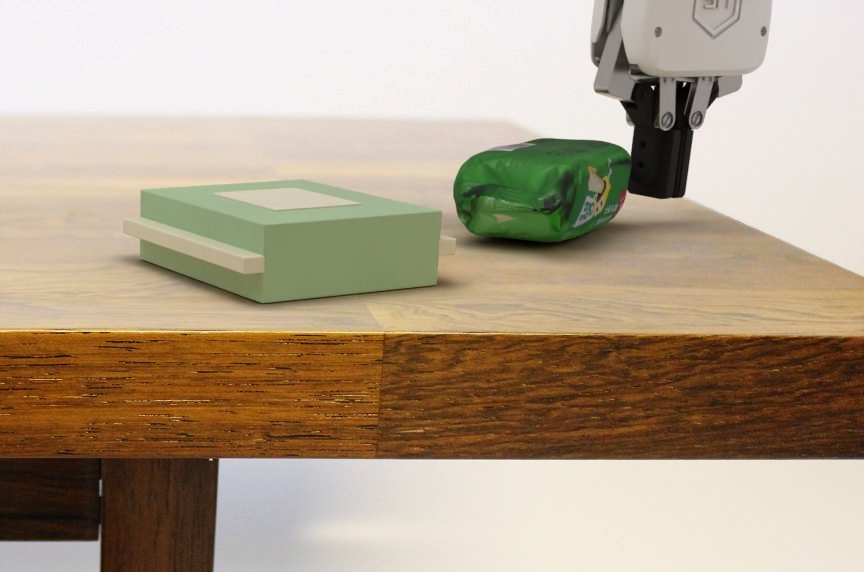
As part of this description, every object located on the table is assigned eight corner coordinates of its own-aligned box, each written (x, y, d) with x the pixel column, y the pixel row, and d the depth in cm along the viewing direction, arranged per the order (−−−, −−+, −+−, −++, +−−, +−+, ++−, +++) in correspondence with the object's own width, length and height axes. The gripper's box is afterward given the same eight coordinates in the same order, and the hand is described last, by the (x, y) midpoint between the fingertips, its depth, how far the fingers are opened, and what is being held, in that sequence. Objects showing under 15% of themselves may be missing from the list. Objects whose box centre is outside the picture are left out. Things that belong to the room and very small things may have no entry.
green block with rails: (314, 243, 82) (318, 176, 81) (453, 283, 72) (459, 207, 71) (122, 260, 77) (122, 189, 76) (242, 305, 67) (245, 224, 66)
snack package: (427, 247, 82) (434, 151, 80) (527, 211, 94) (536, 127, 92) (552, 263, 78) (563, 163, 76) (640, 223, 90) (651, 136, 89)
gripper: (648, -143, 77) (606, 212, 83) (844, -131, 84) (792, 197, 90) (549, -136, 83) (516, 193, 89) (739, -125, 90) (697, 181, 96)
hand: (655, 194), depth 89 cm, fingers closed
